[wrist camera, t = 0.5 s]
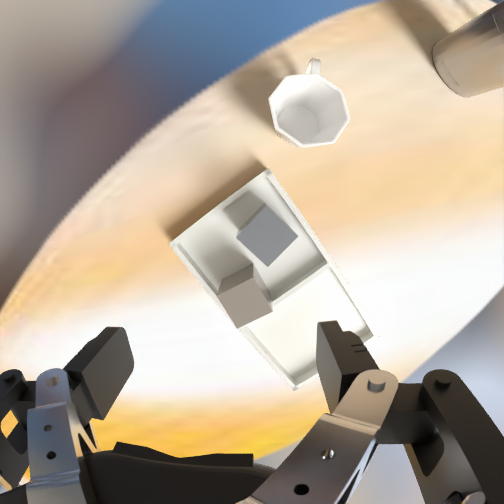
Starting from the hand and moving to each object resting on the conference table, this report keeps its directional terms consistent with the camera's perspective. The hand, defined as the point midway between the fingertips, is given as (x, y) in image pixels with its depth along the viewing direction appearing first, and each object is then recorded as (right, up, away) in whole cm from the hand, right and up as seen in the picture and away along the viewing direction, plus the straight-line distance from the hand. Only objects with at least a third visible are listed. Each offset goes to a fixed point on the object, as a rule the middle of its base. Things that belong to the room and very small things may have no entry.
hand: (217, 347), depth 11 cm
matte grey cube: (+3, +6, +20) cm, 21 cm away
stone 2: (+1, 0, +21) cm, 21 cm away
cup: (+6, +19, +18) cm, 27 cm away
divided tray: (+5, -1, +22) cm, 22 cm away
